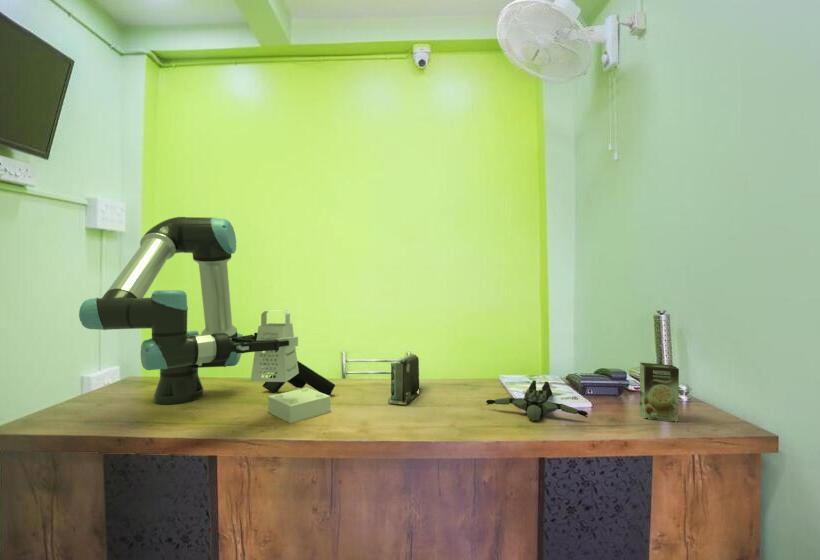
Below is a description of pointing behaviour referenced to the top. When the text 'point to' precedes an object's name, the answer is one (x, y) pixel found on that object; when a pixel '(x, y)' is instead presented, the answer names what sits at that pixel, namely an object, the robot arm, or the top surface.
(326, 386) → the handgun
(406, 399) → the radio
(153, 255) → the robot arm
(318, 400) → the pedestal
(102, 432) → the top surface
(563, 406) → the toy
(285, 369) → the grater
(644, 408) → the coffee box
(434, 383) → the top surface
